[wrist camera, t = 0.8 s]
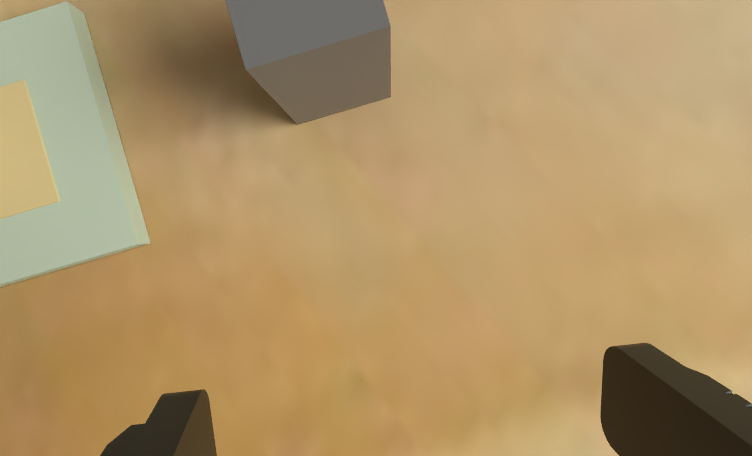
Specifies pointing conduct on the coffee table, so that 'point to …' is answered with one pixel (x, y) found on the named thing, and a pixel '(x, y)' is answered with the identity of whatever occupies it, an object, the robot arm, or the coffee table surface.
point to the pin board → (59, 151)
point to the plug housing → (315, 52)
